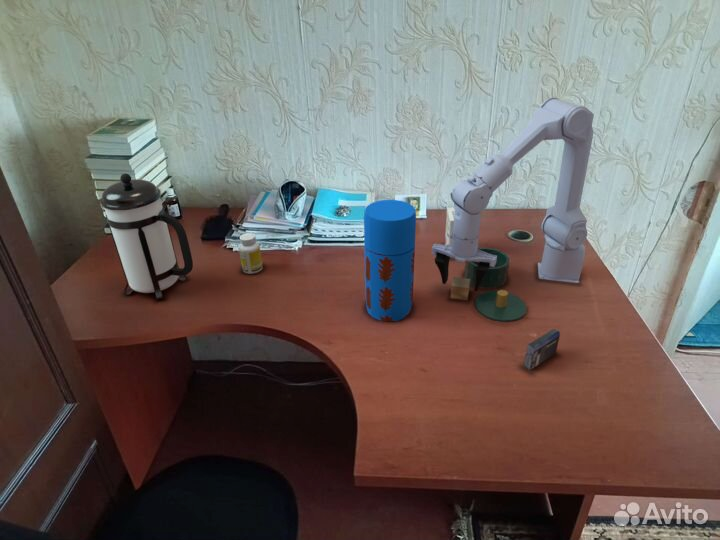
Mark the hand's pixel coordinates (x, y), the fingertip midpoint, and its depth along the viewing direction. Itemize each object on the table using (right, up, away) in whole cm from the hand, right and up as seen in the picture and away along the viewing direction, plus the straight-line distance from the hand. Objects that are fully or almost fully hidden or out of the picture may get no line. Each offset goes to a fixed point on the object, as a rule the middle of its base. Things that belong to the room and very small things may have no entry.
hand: (460, 285), depth 117 cm
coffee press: (-74, -1, +8) cm, 75 cm away
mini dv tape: (+12, -15, -18) cm, 26 cm away
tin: (+8, +2, +8) cm, 11 cm away
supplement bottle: (-52, +4, +15) cm, 55 cm away
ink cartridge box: (+2, +9, +20) cm, 22 cm away
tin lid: (+8, -5, -3) cm, 10 cm away
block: (0, -3, +2) cm, 3 cm away
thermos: (-17, -5, -2) cm, 18 cm away
